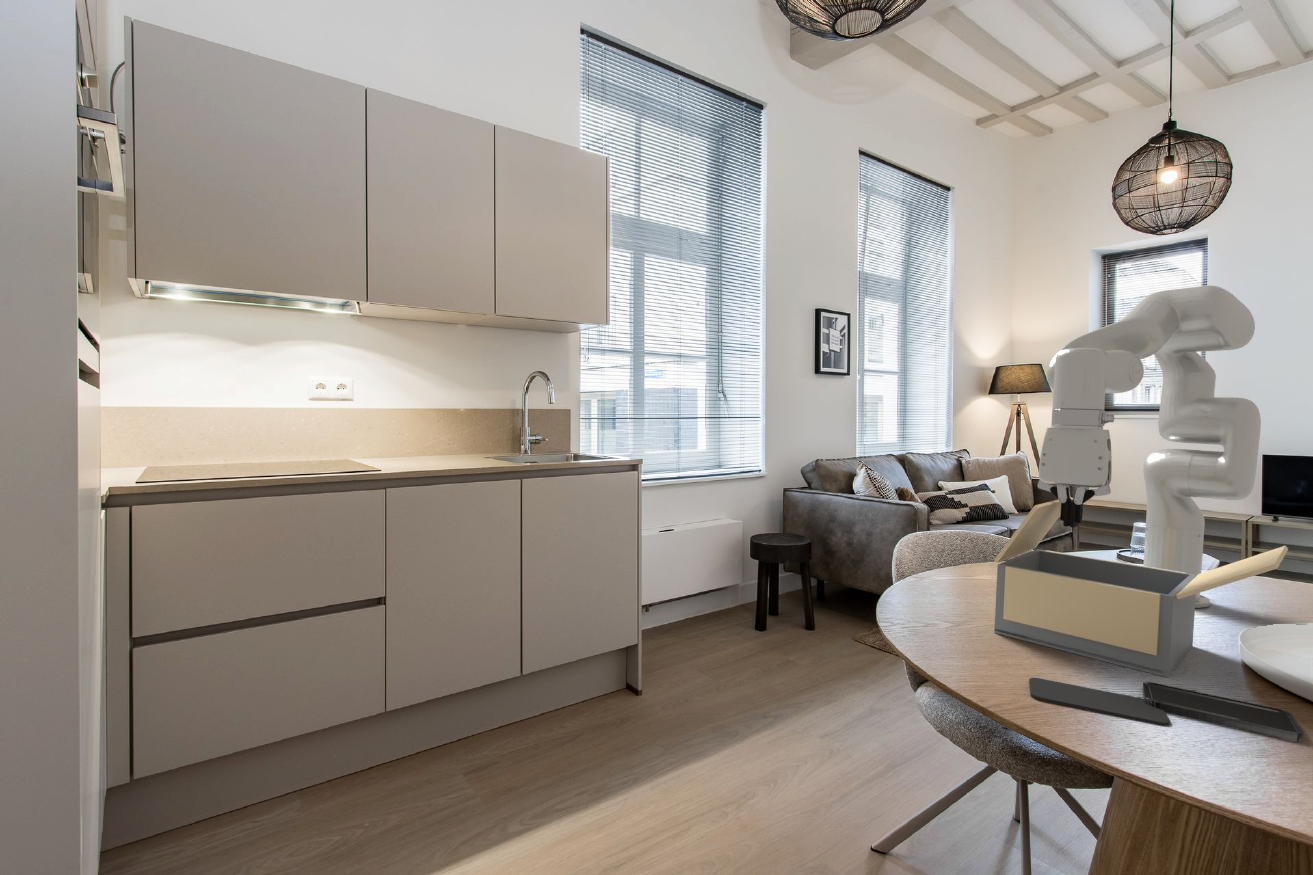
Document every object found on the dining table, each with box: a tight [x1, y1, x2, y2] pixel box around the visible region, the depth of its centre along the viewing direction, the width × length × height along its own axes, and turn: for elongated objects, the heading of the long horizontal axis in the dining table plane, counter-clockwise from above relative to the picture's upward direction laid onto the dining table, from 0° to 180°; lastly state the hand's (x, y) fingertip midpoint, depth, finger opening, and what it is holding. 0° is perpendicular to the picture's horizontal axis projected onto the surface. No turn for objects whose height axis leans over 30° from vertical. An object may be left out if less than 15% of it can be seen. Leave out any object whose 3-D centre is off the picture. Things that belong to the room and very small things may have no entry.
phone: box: [1028, 677, 1171, 727], centre depth 85 cm, size 7×1×15 cm
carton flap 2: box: [1176, 545, 1289, 599], centre depth 96 cm, size 20×12×1 cm
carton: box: [993, 548, 1197, 679], centre depth 109 cm, size 21×24×12 cm
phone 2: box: [1142, 681, 1304, 743], centre depth 83 cm, size 8×1×15 cm
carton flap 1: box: [993, 496, 1074, 564], centre depth 116 cm, size 20×12×1 cm
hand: (1070, 525), depth 111 cm, fingers closed
